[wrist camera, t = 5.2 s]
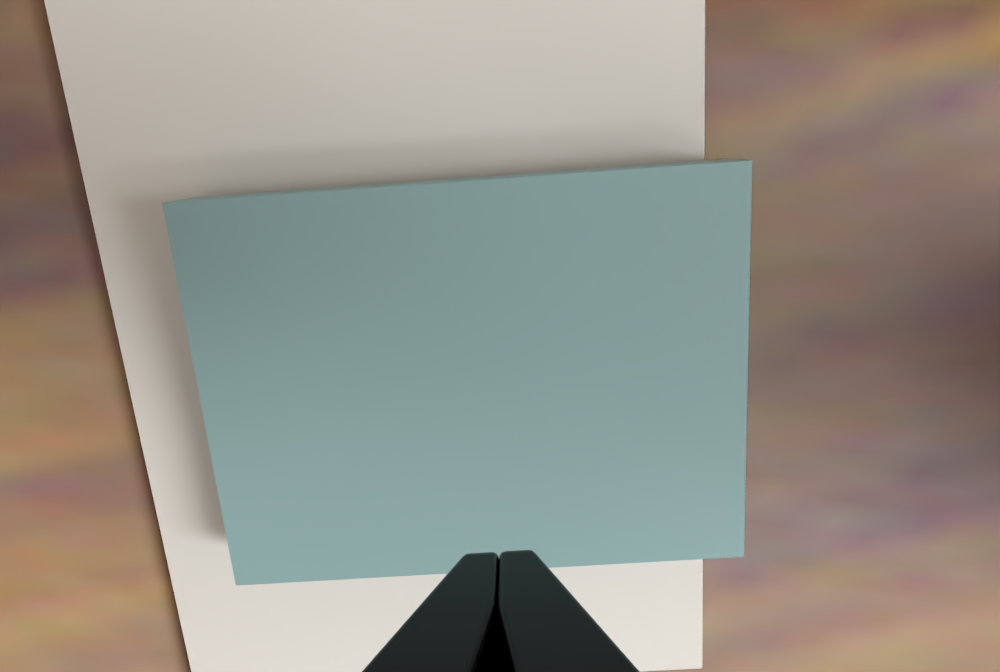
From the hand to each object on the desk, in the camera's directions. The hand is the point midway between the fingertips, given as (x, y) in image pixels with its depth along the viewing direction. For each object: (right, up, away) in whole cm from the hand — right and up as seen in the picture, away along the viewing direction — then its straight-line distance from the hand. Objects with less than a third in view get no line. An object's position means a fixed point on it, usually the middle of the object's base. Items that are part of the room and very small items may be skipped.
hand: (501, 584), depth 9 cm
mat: (-2, +2, +9) cm, 9 cm away
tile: (+5, +2, +7) cm, 10 cm away
